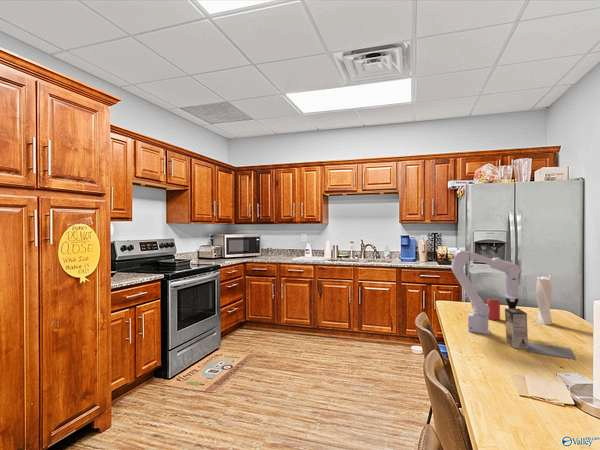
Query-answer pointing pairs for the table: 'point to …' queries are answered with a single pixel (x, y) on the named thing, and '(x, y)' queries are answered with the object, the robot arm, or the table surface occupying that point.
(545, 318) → the skyscraper
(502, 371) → the table surface
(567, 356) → the mat
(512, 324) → the coffee box
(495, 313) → the beer can
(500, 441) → the table surface
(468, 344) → the table surface
